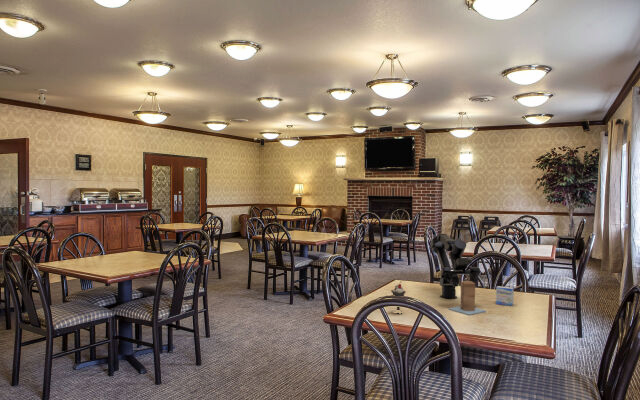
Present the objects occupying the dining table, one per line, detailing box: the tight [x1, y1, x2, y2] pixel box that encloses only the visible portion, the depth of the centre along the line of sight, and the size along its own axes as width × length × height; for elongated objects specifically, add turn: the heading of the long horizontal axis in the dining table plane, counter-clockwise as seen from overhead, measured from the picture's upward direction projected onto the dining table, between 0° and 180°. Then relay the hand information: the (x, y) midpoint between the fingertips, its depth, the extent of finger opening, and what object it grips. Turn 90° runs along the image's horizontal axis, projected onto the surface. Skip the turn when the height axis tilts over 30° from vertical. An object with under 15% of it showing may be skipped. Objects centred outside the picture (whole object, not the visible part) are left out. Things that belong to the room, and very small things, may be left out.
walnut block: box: [460, 280, 476, 311], centre depth 219 cm, size 5×5×13 cm
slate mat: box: [448, 305, 487, 316], centre depth 219 cm, size 12×12×1 cm
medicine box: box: [495, 285, 515, 307], centre depth 233 cm, size 8×4×9 cm, turn 62°
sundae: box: [390, 281, 406, 311], centre depth 214 cm, size 7×7×15 cm
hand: (464, 287), depth 223 cm, fingers open, 9 cm apart
